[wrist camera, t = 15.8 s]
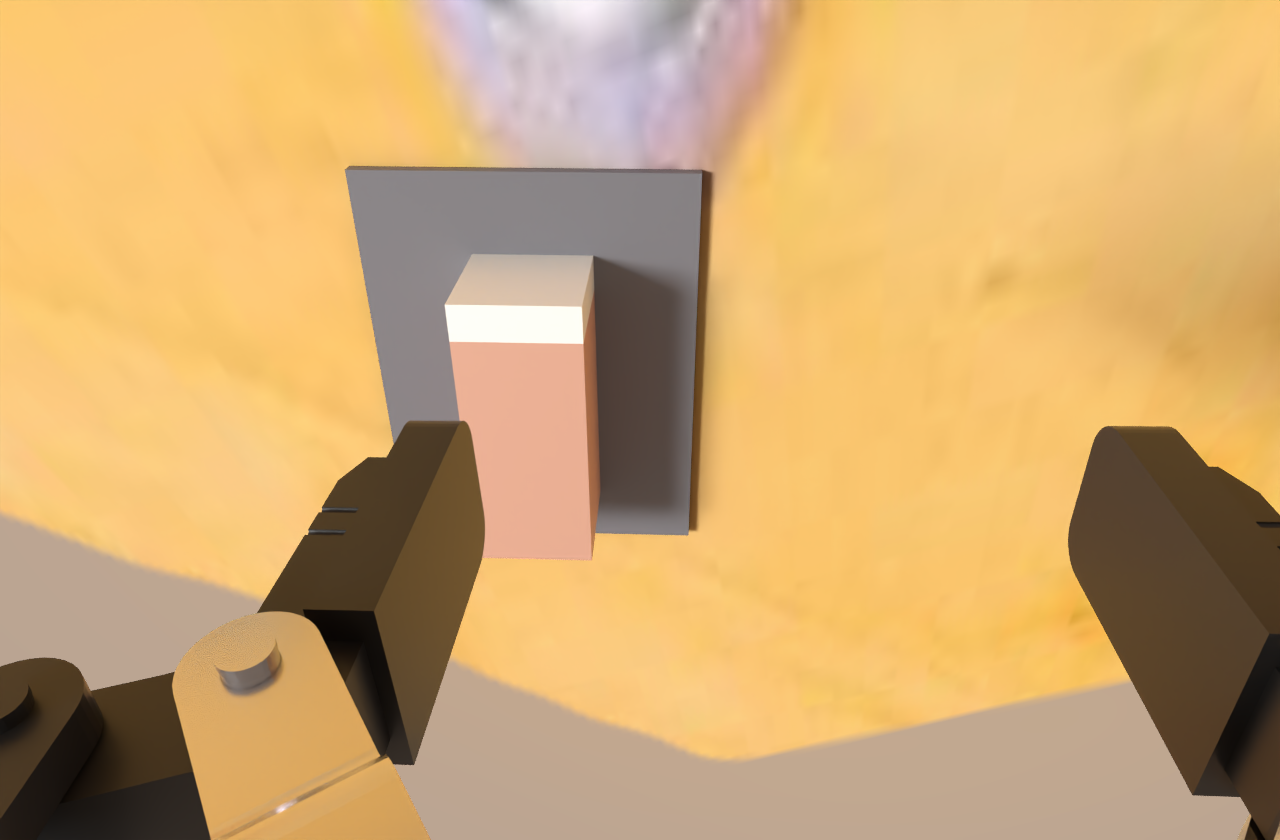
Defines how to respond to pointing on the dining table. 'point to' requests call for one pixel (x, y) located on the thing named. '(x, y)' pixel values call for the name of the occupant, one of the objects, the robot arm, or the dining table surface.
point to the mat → (623, 289)
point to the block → (530, 399)
